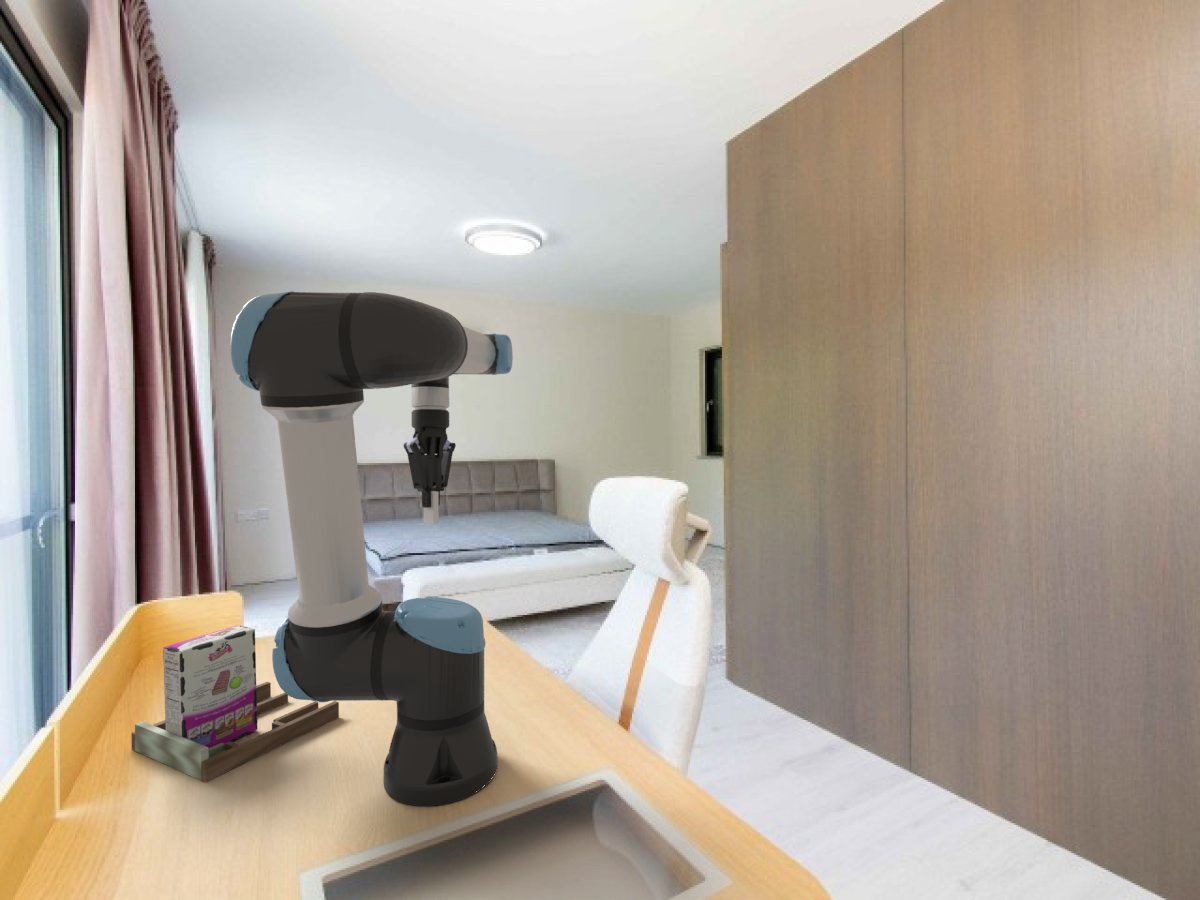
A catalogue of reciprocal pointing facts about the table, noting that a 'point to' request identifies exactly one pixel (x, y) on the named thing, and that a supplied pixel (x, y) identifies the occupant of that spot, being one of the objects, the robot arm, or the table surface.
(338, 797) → the table surface
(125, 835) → the table surface
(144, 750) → the grey-brown low tray piece
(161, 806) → the table surface
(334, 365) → the robot arm
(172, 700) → the candy bar box
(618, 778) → the table surface
